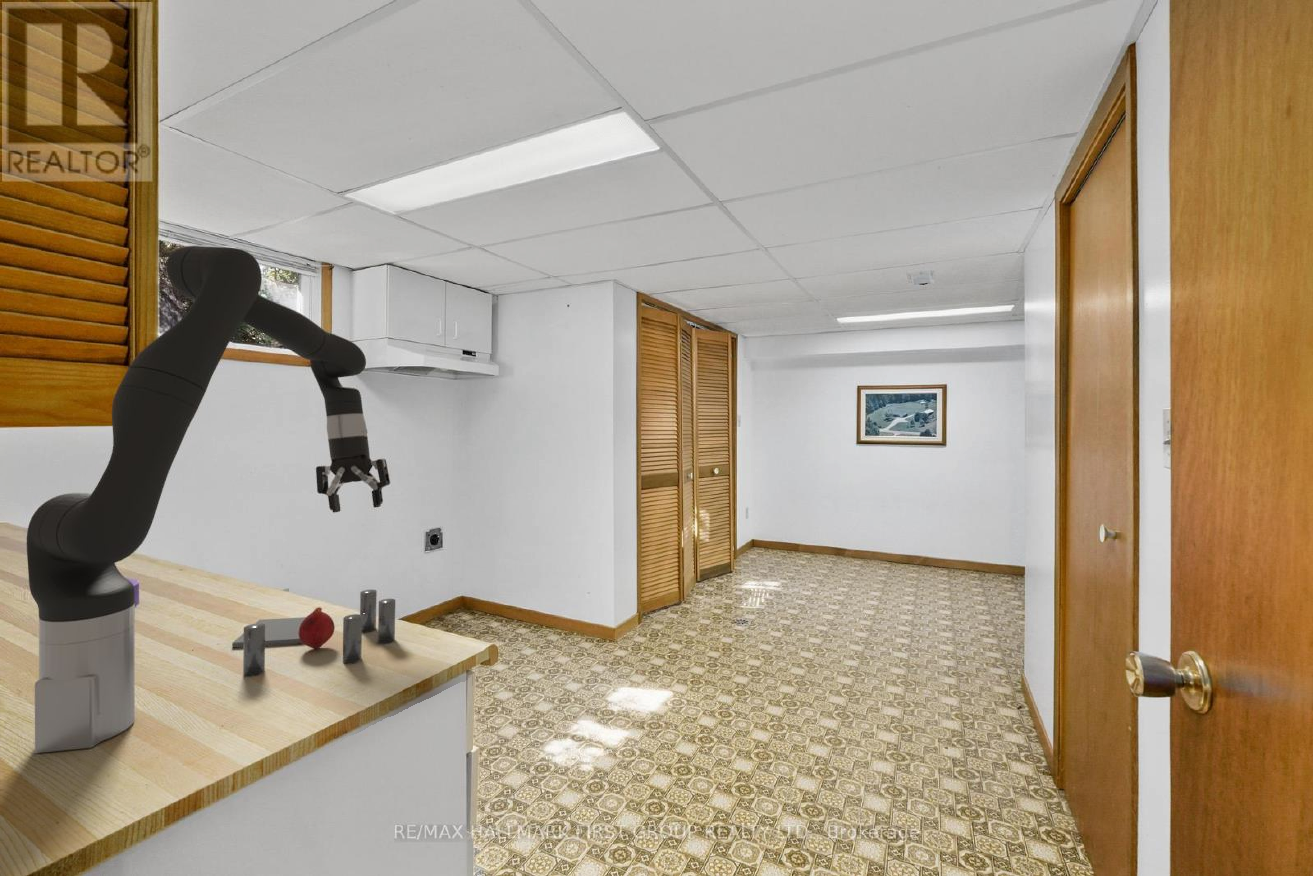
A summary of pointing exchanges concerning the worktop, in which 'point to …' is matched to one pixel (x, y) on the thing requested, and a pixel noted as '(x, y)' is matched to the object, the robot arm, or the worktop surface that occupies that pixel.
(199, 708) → the worktop surface
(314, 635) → the onion
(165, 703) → the worktop surface
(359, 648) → the spacer field
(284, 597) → the worktop surface
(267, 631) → the mat
